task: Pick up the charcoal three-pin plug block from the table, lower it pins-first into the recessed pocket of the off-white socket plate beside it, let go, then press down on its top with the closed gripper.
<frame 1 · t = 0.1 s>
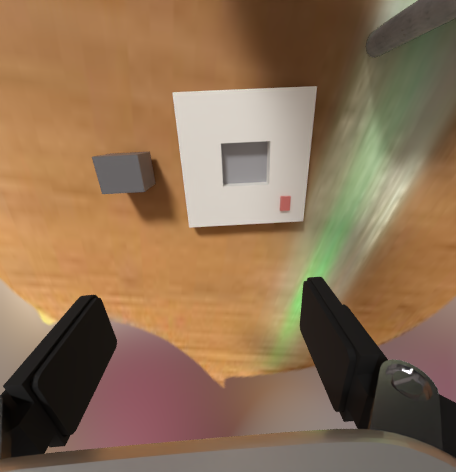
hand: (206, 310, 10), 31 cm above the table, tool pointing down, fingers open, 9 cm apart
plug: (136, 168, 37), on the table
hip flask: (421, 17, 31), on the table
socket: (243, 162, 38), on the table
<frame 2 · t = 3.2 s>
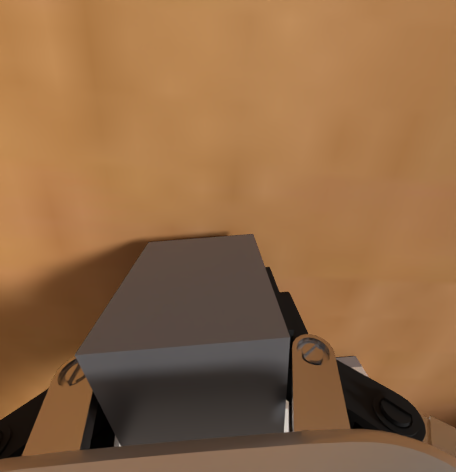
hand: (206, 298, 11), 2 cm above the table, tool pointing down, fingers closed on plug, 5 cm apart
plug: (208, 276, 13), on the table, touching gripper
socket: (228, 440, 20), on the table
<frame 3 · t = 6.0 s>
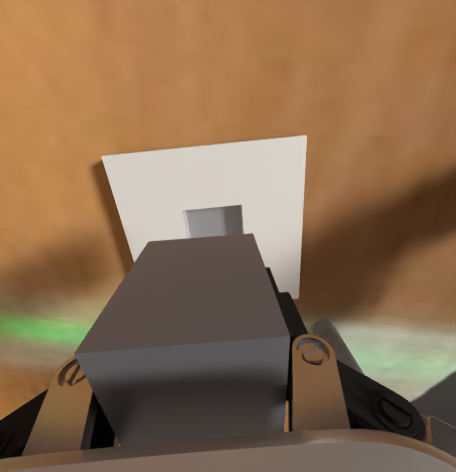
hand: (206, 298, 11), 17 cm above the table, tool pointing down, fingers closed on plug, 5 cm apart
plug: (208, 275, 13), point 15 cm above the table, touching gripper
hip flask: (334, 349, 39), on the table
socket: (216, 228, 28), on the table
when the fingers open (4 cm above the table, at t = 9.2 s): plug drops 1 cm, resting on socket.
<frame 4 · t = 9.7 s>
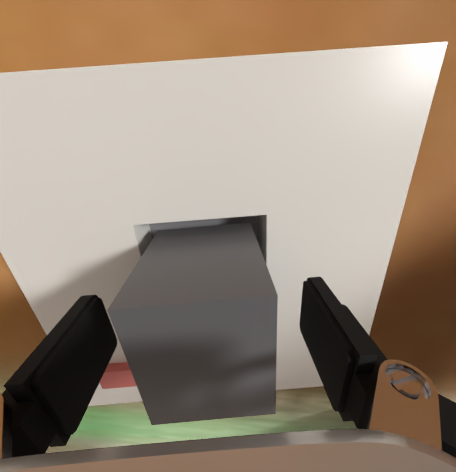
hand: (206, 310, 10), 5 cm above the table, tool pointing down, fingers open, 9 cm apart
plug: (210, 262, 14), point 1 cm above the table, touching socket
socket: (209, 256, 15), on the table
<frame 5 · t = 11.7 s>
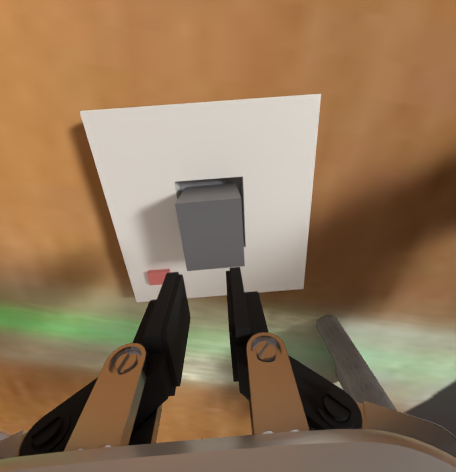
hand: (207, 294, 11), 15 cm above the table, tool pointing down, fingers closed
plug: (213, 210, 24), point 1 cm above the table, touching socket
hip flask: (338, 347, 36), on the table
socket: (213, 207, 25), on the table
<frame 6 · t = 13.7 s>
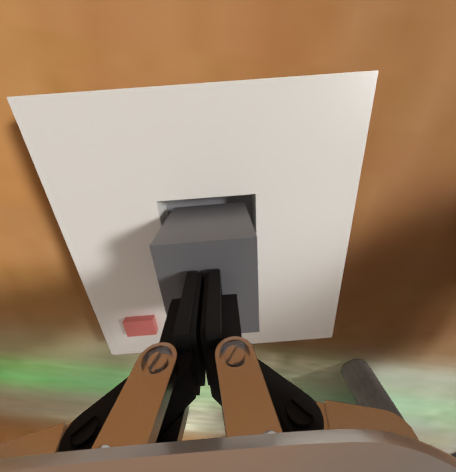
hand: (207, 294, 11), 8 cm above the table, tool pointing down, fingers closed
plug: (213, 236, 18), point 1 cm above the table, touching gripper, socket
hip flask: (366, 394, 29), on the table
socket: (212, 232, 19), on the table
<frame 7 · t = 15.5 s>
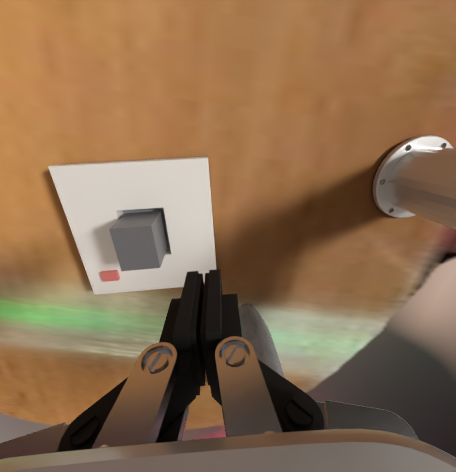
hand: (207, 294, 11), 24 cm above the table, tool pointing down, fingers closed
plug: (149, 228, 35), point 1 cm above the table, touching socket
hip flask: (259, 329, 47), on the table
socket: (149, 226, 35), on the table
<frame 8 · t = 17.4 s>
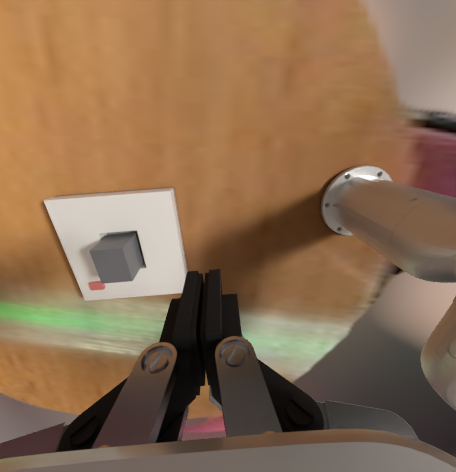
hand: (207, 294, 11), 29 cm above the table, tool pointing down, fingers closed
plug: (128, 245, 41), point 1 cm above the table, touching socket
socket: (129, 243, 42), on the table
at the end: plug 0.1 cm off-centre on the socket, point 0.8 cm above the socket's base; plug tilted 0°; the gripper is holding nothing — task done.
